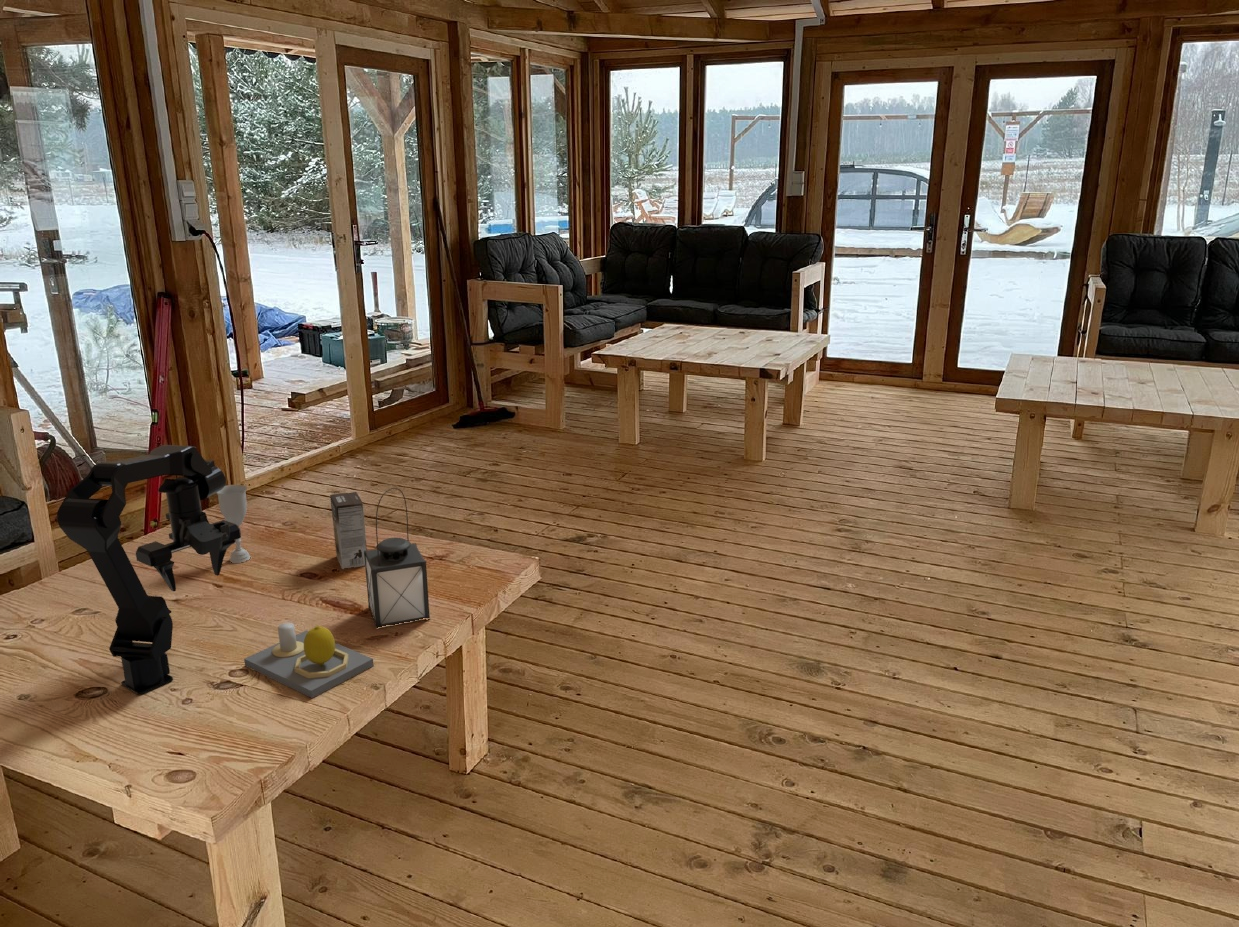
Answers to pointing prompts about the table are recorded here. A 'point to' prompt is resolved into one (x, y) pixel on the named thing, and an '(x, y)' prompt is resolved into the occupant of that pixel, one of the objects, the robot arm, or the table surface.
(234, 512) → the chalice
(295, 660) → the board
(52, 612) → the table surface
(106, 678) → the table surface
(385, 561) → the lantern
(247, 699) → the table surface
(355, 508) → the coffee box
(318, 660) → the lemon
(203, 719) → the table surface
